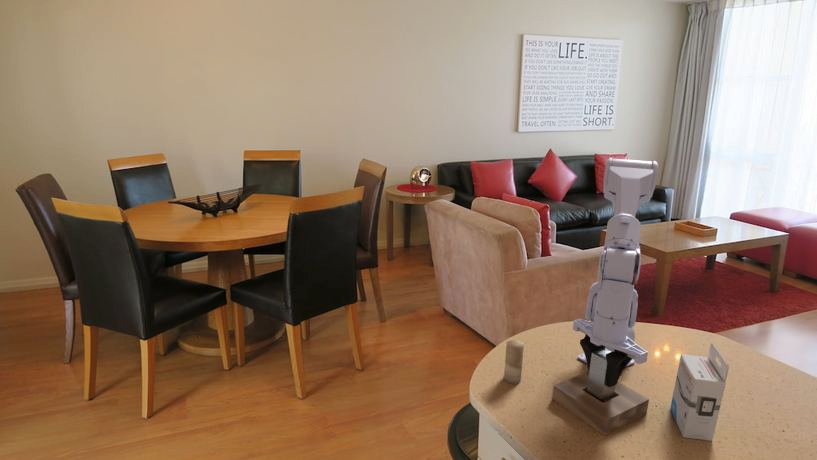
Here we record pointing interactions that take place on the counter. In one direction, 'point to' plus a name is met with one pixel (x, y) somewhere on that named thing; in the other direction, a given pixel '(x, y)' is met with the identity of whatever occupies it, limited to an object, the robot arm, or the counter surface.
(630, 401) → the bore block
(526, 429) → the counter surface
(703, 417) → the ink box
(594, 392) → the square bit
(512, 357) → the round dowel
